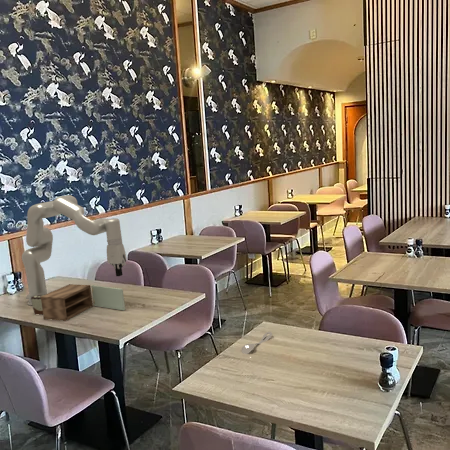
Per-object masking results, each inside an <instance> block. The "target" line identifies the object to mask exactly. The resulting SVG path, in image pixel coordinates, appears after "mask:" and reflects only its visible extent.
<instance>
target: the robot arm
mask: <svg viewBox="0 0 450 450" xmlns="http://www.w3.org/2000/svg"><path fill="white" fill-rule="evenodd" d="M61 214H62V215H63V216H65V217H67V218H69V219H70V220H73V222H74V224H75V225H76V226H77V228H78V229H79V230H81V231H82V232H84V233H85V234H88V235H90V236H98V235H101V234H104V233H106V242H107V245H106V260H107V264H109V265H111V266H112V267H113V269H114V271H115V277H121V276H123V268H124V267H123V266H127V263H126V262H127V255H126V249H125V246H124V244H123V238H122V237H123V236H122V230H121V229H122V228H121V223H120V219H118V218H114V217H113V218H98V219H95V220H91V219H89V218H88V217H86V216H85V215H84V214H85V208H84V207H83V206H82V205H79V204H78V200H77V198H76V197H75V196H72V195H71V194H69V195H61V196H58V197H55V198H54V199H53V200H50V201H44V202H40V203H35V204H33V205H31V206H29V208H28V210H27V215H26V216H27V225H26V236H25V237H26V238H25V239H26V240H25V241H26V245H27V246H29V247H31V248H28V249H26V250H24V251H23V252H22V255H21V261H22V264H23V267H24V270H25V276H26V282H27V287H28V293H27V295H26V296H25V299H27V300H28V301H27V305H29V306H32V301H31V300H30V297H31V296H32V295H36V294H48V291H47V285H46V276H45V271H44V268H43V266H42V265H41V263H43V262H46V261H48V260H49V259H50V258H51V256H52V252H53V243H54V242H53V240H54V239H53V238H54V236H53V233H52V231H51V229H50V228H48V227H45V225H44V224H45V223H44V219H48V218H51V217H56V216H60V215H61Z"/></svg>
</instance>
